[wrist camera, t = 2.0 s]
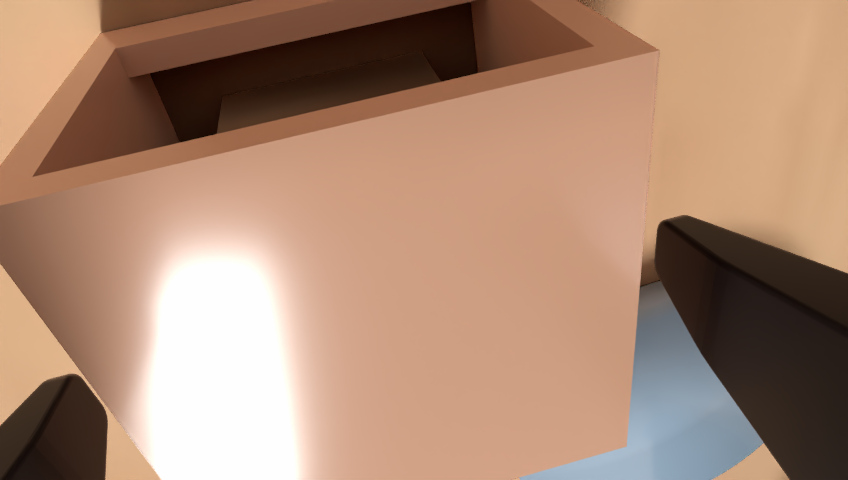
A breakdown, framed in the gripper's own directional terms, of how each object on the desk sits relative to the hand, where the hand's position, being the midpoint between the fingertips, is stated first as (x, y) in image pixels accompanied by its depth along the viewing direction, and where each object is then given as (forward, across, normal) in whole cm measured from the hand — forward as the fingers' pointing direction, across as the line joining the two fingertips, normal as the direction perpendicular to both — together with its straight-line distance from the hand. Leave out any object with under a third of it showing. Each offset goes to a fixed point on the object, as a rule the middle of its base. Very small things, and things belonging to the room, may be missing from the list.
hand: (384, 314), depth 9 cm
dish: (+5, -8, +11) cm, 14 cm away
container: (+5, 0, 0) cm, 5 cm away
